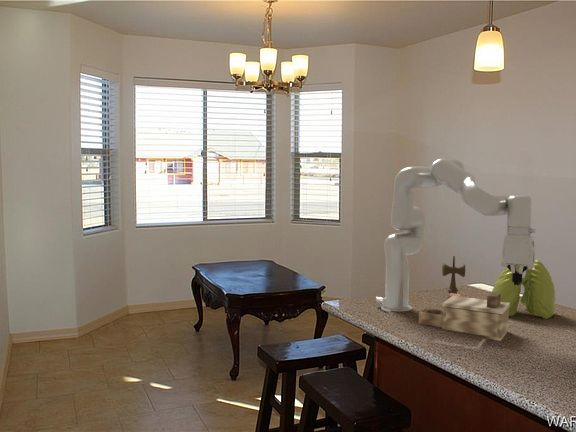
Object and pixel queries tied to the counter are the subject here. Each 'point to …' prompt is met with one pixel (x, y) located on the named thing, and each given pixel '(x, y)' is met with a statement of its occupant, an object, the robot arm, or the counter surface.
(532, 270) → the lungs
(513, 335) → the counter surface
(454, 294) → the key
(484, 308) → the lid
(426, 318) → the wooden box
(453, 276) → the kendama
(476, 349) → the counter surface
